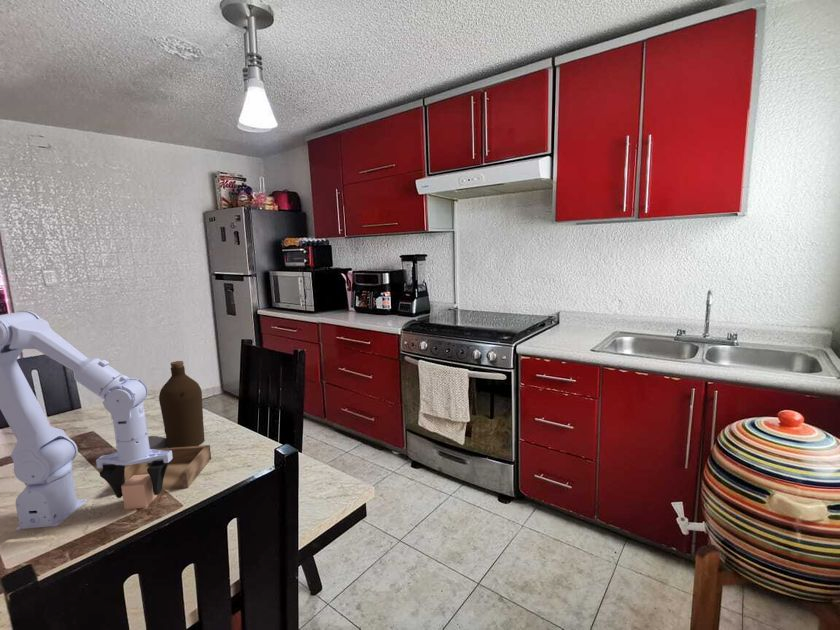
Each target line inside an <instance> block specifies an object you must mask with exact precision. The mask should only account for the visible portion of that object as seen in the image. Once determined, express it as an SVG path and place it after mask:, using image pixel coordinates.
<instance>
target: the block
mask: <svg viewBox="0 0 840 630" xmlns="http://www.w3.org/2000/svg"><path fill="white" fill-rule="evenodd" d="M121 488H122V495H123V496H122V500H123V508H124V510H132V509H143V508H148V507H149V506H150V505H151V503H152V502H153V501H154V500H155V499H156V498H157V496H158V495H159V494H158V495H154V493H153V487H152V481H151V478H150V476H149V474H144V475H133V476H132V477H131V478H130V479H129V480H128V481H127V482H126V483H125V484H123V485H122V486H121Z"/></svg>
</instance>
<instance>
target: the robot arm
mask: <svg viewBox="0 0 840 630" xmlns="http://www.w3.org/2000/svg"><path fill="white" fill-rule="evenodd" d="M24 350H36V351H38V352H39V353H42V354H44V355H45V356H47V357H48V358H50V359H52V360H54V361H55V362H57V363H59V364H60V365H62V366H64V367H66V368H67V369H69V370H71V371H73V378H74V381H76V382H77V383H78V384H80V385H81V386H83V387H85V389H88V390H90V392H92V393H93V394H94V395H96V396H97V397H100V399H102V400H103V401H102V405H103V407H104V408H105V410H107V412H109V413H110V416H111V420H112V425H113V431H114V437H115V446H116V451H117V453H116V454H111V453H110V454H111V455H110V454H106V455H100V456H99V457H98V458H97V459H95V463H96V468H97V469H102V470H101V471H100V472H99V476H100V477H101V479H103V480H104V481H105V482H107V484H108V485H109V486H110V487H111V489H112V491H113V492H114V495H115V496H116V499H121V498H123V495H122V488H121V486H122V485H123V484H125V477H124V472H125V467H126V466H128V465H133V464H141V463H153V464H152V465H151V466H150V467H149V468H148V469H147V472H148V473H149V476H150V478H151V481H152V487H153V493H154V495H159V494H160V493H161V492H162V491H163V490H162V485H163V479H164V475H165V472H166V469H167V466H168V464H169V462H170V461H171V460H172V459H173V457H172V451H163V450H154V449H150V447H149V439H148V437H149V433H148V425H147V419H146V409H145V403H144V401H145V399H147V396H148V393H149V391H148V387H147V385H146V384H145V382H143V381H142V380H141V379H140V378H136V377H129V376H127V375H126V374H123V373H120V372H119V371H118V370H117V369H115V368H114V367H112V366H111V365H110V362H109V361H107V360H106V359H100V358H98V357H96V358H89V357H87V356H86V355H85V354H83V353H82V352H81V351H79V349H77V348H76V347H75V346H73V345H72V344H70V343H69V342H68V341H67V340H65V339H64V337H61V335H59V334H58V333H57V332H55V331H54V330H53V329H52V328H51V326H50V324H49V322H48V321H47V320H45V319H43V318H41V317H40V316H39V315H38V314H36V313H35V312H34V311H31V310H19V311H16V312H10V313H5V314H0V411H1V413H2V415H3V417H4V418H5V421H6V423H7V424H8V426H9V428H10V429H11V431H12V433H13V435H14V437H15V439H16V440H17V441H16V444H15V445H14V447H13V450H12V451H11V454H10V458H11V459H12V462H13V473H14V475H15V477H16V478H17V480H19V481H20V482H22V483H24V485H25V488H24V489H23V490H22V491H21V492H20V493H19V495H17V497H16V499H15V508H16V514H17V518H18V519H17V520H18V523H19V525H18V526H17V527H16V528H15V531H16V532H17V531H19V530H24V529H25V530H27V529H35V528H45V527H46V528H48V527H56V526H58V525H60V524H61V523H62V522H63V521H64V520H66V519H67V518H68V517H69V516H70V515H72V514H73V513H74V512H75V511H76V510H78V509H79V508H80V506H82V505H83V504H84V503H86V502H87V501H88V498H79V499H78V497H77V492H76V485H75V479H74V474H73V465H74V463H73V461H74V460H75V458H76V457H77V455H78V451H79V449H78V445H77V444H76V442H75V441H74V440H73V439H71V438H70V437H69V436H67V434H66V432H65V430H63V429H60V428H59V427H58V428H57V427H55V426H51V423H50V421H49V419H48V418H47V416H46V414H45V412H44V410H43V408H42V407H41V405H40V403H39V401H38V399H37V397H36V395H35V393H34V392H33V389H32V387H31V386H30V384H29V382H28V380H27V378H26V376H25V374H24V372H23V371H22V369H21V367H20V365H19V362H18V358H19V357H20V355H21V353H23V351H24Z"/></svg>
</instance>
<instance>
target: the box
mask: <svg viewBox="0 0 840 630" xmlns="http://www.w3.org/2000/svg"><path fill="white" fill-rule="evenodd" d="M154 450H163V451H172V457H173V459H172V460H171V461H170V462H169V464H168V466H167V469H166V472H165V475H164V479H163V485H162V491H169V490H179V489H181V490H182V489H189V488H190V486H191V485H192V484H193V483H194V481H195V480H196V479H197V477H198V476H199V475H200V474H201V472H202V471H203V470H204V469H205V467H206V466H207V465H208V464H209V462H210V461H211V460H212V451H211V445H210V444H207V445H206V444H205V445H199V446H189V447H175V448H168V447H165V448H162V449H154ZM152 464H153V463H141V464H133V465H125V472H124V477H125V483H126V482H127V481H128V480H129V479H130V478H131V477H132V476H133V475H144V474H149V473H148V472H147V469H148V468H149V467H150V466H151V465H152Z"/></svg>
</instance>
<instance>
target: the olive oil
mask: <svg viewBox="0 0 840 630" xmlns="http://www.w3.org/2000/svg"><path fill="white" fill-rule="evenodd" d="M184 363H185V362H184V361H183V360H176V361H172V362H170V373H171V376H170V378H169V379H168V380H167V381H166V382H165V384H164V385H162V387H161V389H160V391H159V397H158V401H159V406H160V412H161V418H162V422H163V428H164V429H163V430H164V434H165V438H166V440H167V448H175V447H189V446H202V444H204V442H205V428H204V427H205V425H204V411H203V410H204V409H203V408H204V407H203V391H202V388H201V386H200V384H199V383H198V382H197V381H195V379H193V378H191V377H190V376H188V375H187V374H186V368H185V365H184Z"/></svg>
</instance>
